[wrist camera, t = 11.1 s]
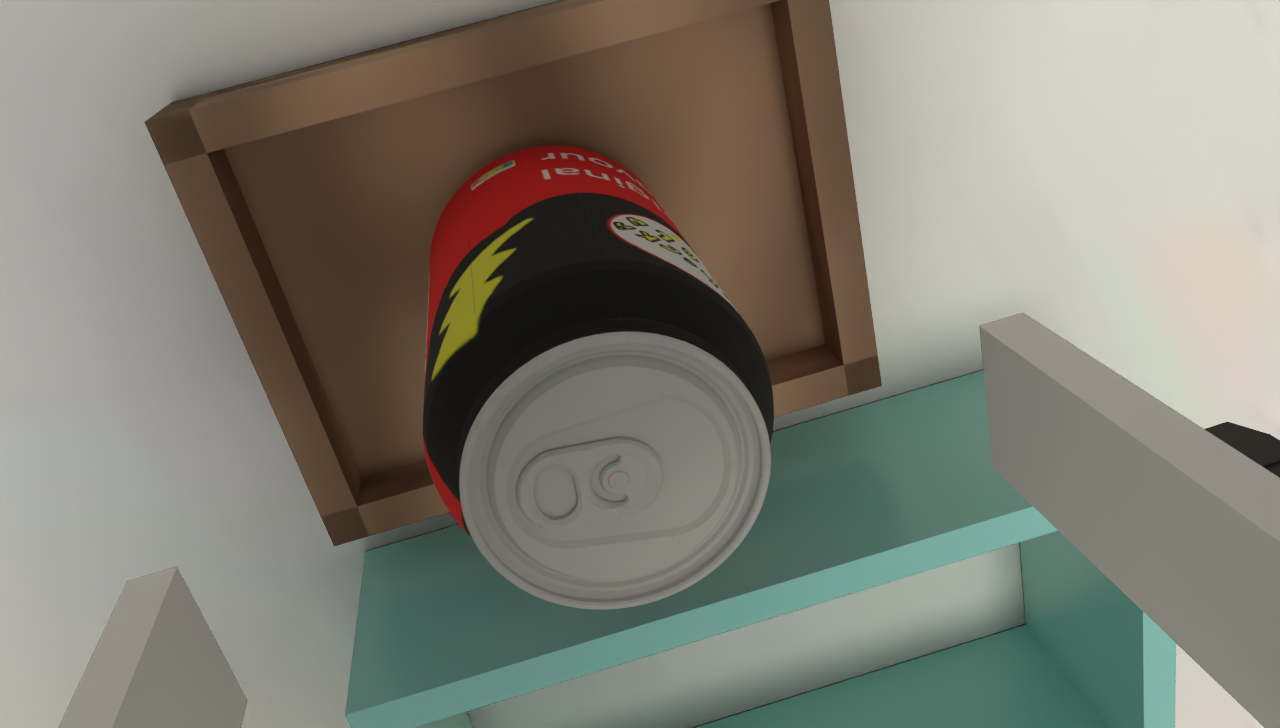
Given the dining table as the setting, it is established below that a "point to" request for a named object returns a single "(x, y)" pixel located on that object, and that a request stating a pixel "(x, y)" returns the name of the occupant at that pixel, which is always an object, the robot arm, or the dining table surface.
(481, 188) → the beverage can
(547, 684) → the teal open box
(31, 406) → the dining table surface
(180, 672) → the robot arm
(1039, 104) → the dining table surface
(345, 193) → the tray
